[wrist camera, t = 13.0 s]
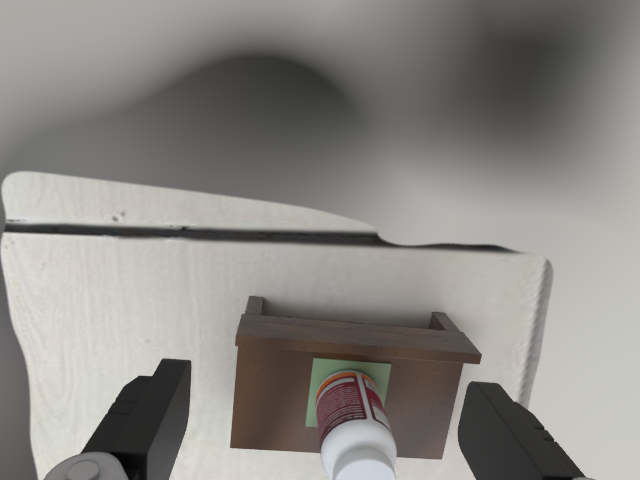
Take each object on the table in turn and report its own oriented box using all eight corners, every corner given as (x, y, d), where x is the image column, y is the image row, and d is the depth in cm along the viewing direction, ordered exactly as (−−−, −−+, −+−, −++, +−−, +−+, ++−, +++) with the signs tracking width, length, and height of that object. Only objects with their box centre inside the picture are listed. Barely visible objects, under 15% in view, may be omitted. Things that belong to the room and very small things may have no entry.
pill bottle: (307, 415, 42) (312, 512, 32) (324, 361, 41) (335, 443, 30) (367, 427, 43) (392, 525, 32) (385, 374, 42) (417, 459, 31)
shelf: (237, 410, 49) (225, 471, 40) (246, 295, 45) (235, 335, 37) (424, 421, 51) (452, 482, 42) (447, 312, 47) (482, 354, 39)
